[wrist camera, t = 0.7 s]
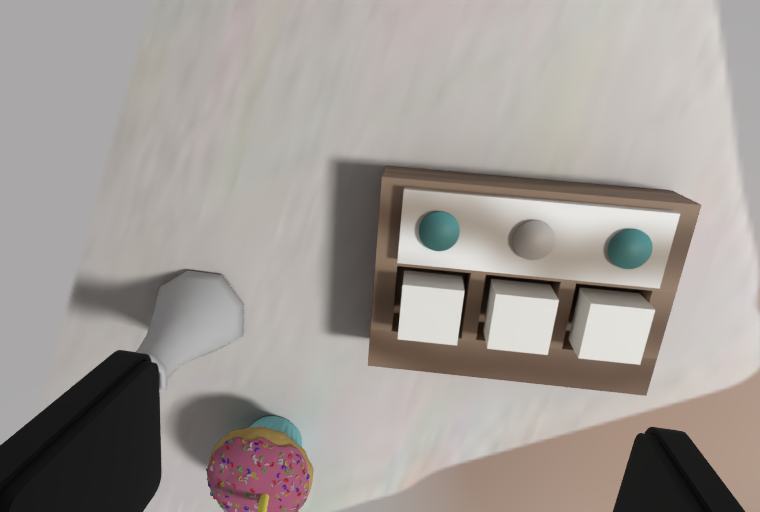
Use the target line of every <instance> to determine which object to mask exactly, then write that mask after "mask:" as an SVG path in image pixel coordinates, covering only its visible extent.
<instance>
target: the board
mask: <svg viewBox="0 0 760 512" xmlns="http://www.w3.org/2000/svg"><path fill="white" fill-rule="evenodd" d="M700 208H701V205H700V204H698V203H696V202H694V201H692V200H690V199H688V198H686V197H684V196H682V195H680V194H678V193H676V192H674V191H667V190H656V189H644V188H633V187H621V186H610V185H598V184H587V183H575V182H564V181H552V180H541V179H529V178H518V177H506V176H495V175H483V174H472V173H460V172H449V171H437V170H426V169H414V168H403V167H391V166H386V168H385V170H384V173H383V175H382V180H381V194H380V207H379V221H378V234H377V248H376V262H375V275H374V289H373V302H372V316H371V329H370V343H369V356H368V366H378V367H387V368H396V369H405V370H415V371H424V372H433V373H442V374H452V375H461V376H470V377H479V378H489V379H498V380H507V381H516V382H526V383H535V384H544V385H553V386H563V387H572V388H581V389H590V390H600V391H609V392H618V393H627V394H636V395H647V391H648V388H649V384H650V381H651V377H652V374H653V370H654V367H655V363H656V360H657V356H658V353H659V350H660V346H661V343H662V339H663V336H664V332H665V329H666V325H667V322H668V318H669V315H670V312H671V308H672V305H673V301H674V298H675V294H676V291H677V287H678V284H679V280H680V277H681V274H682V270H683V267H684V263H685V260H686V256H687V253H688V249H689V246H690V242H691V239H692V235H693V232H694V229H695V225H696V222H697V218H698V215H699V211H700ZM404 270H406V271H416V272H427V273H437V274H447V275H457V276H462V279H463V284H464V290H465V292H464V299H463V306H462V313H461V321H460V328H459V335H458V342H457V346H456V345H447V344H437V343H427V342H418V341H408V340H399V339H398V329H399V318H400V308H401V297H402V286H403V277H404ZM491 279H498V280H509V281H519V282H529V283H539V284H549V285H551V287H552V289H553V291H554V292H555V294H556V296H557V298H558V299H559V303H558V308H557V313H556V318H555V322H554V327H553V332H552V337H551V342H550V347H549V351H548V355H542V354H532V353H523V352H513V351H504V350H494V349H487V346H486V342H485V337H484V332H483V328H484V322H485V315H486V309H487V303H488V296H489V290H490V283H491ZM580 288H590V289H601V290H611V291H621V292H631V293H640V294H641V295H642V296H643V297H644V298H645V299H646V300H647V302H648V303H649V304H650V305H651V306H652V307H653V308H654V309H655V313H654V317H653V320H652V324H651V328H650V331H649V335H648V338H647V342H646V346H645V349H644V353H643V356H642V360H641V364H640V365H637V364H627V363H618V362H608V361H599V360H589V359H580V358H578V357H577V355H576V353H575V351H574V349H573V347H572V345H571V343H570V342H569V340H568V339H569V334H570V329H571V325H572V320H573V316H574V311H575V307H576V302H577V298H578V293H579V289H580Z"/></svg>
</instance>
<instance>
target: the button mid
mask: <svg viewBox="0 0 760 512" xmlns="http://www.w3.org/2000/svg"><path fill="white" fill-rule="evenodd" d="M558 303H559V299H558V298H557V296H556V294H555V292H554V291H553V289H552V287H551V285H549V284H539V283H529V282H519V281H509V280H498V279H491V283H490V290H489V296H488V303H487V309H486V315H485V322H484V328H483V332H484V337H485V342H486V346H487V349H494V350H504V351H513V352H523V353H532V354H542V355H548V351H549V347H550V342H551V337H552V332H553V327H554V322H555V318H556V313H557V308H558Z"/></svg>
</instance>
